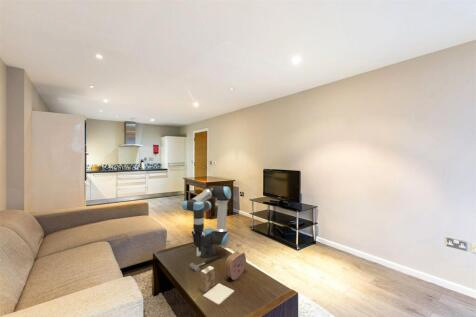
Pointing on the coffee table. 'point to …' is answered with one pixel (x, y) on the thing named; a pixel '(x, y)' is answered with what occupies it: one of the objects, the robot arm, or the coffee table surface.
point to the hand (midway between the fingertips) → (198, 255)
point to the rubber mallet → (203, 263)
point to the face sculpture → (235, 265)
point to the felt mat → (218, 293)
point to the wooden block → (207, 278)
